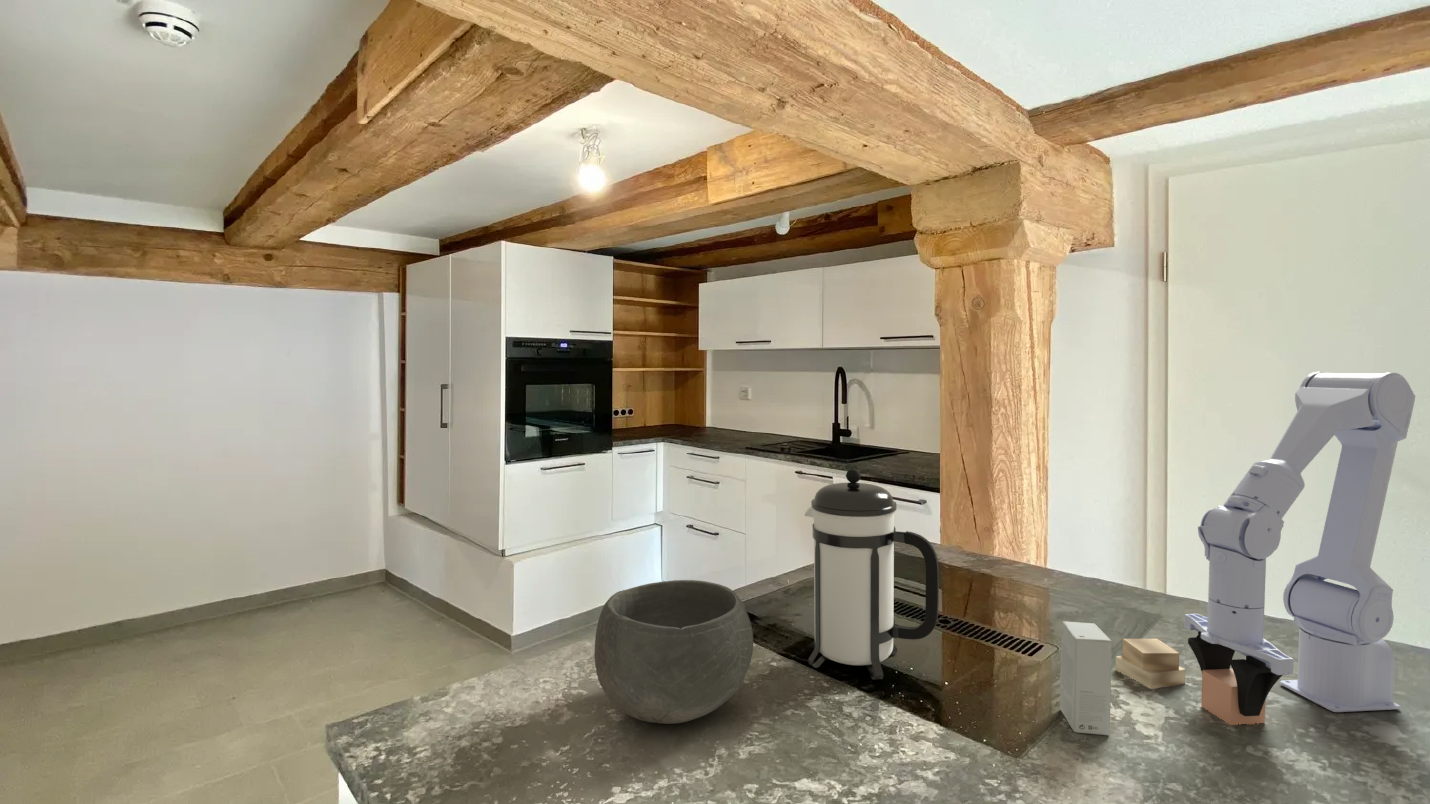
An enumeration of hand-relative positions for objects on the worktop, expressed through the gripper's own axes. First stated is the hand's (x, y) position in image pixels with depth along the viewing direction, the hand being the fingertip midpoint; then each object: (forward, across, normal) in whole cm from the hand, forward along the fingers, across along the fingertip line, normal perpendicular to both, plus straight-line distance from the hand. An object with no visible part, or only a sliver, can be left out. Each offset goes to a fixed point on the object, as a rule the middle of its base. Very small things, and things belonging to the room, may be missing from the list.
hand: (1232, 704), depth 87 cm
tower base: (+2, -11, -3) cm, 11 cm away
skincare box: (+2, 0, -20) cm, 20 cm away
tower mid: (-1, -11, -3) cm, 11 cm away
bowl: (+2, -8, -72) cm, 72 cm away
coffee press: (+2, -20, -43) cm, 47 cm away
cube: (+1, 0, 0) cm, 1 cm away
